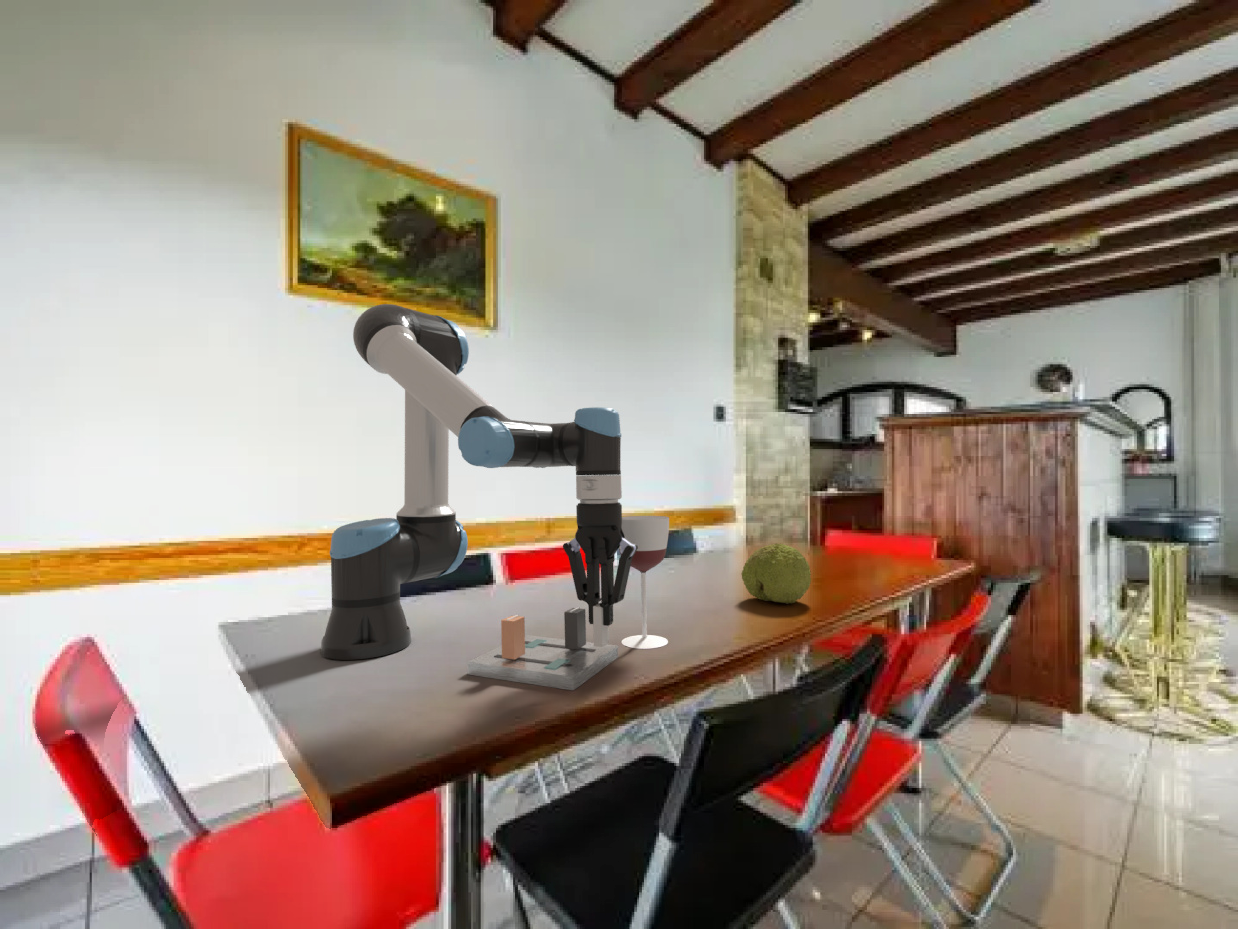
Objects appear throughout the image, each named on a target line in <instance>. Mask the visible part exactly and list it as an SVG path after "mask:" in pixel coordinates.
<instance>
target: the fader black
mask: <svg viewBox="0 0 1238 929" xmlns="http://www.w3.org/2000/svg"><path fill="white" fill-rule="evenodd" d="M563 616H564V619H563V620H564V639H565V648H569V649H579V648H581V647H583V646H584V645H586V642H587V631H586V630H587V627H586V625H587V622H586V608H580V607H571V608H570V609H567V610H565V611H564V615H563Z"/></svg>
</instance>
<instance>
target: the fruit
mask: <svg viewBox="0 0 1238 929" xmlns="http://www.w3.org/2000/svg"><path fill="white" fill-rule="evenodd" d="M811 575H812V573H811V569H810V565H809V561H807V559H806V557H805V556H804V555H803V554H802V552H800V551H799V550H798V549H797V548H796V547H792V546H789V545H787V544H784V543H774V544H768V545H766V546H763V547H759V548H758V549H757V550H756V549H755V550H754V551H753V553H752V554H751V555H750V556H749V557H748V558H747V559H746V562H745V563H744V565H743V568H742V570H741V574H740V576H741V579H742V581H743V585H744V586H745V589H746V590H747V592H748V593H749V594H750V595H751V596H752V597H754V598H756V599H758V600H763V601H765V602H774V603H781V604H787V605H788V604H793V603H796V602H797V601H798V600H800V599H801V598H802V597H804V595H806V593H807V591H808V590H809V588H810V586H811V582H812V581H811V580H812V579H811Z"/></svg>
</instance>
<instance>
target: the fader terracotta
mask: <svg viewBox="0 0 1238 929" xmlns="http://www.w3.org/2000/svg"><path fill="white" fill-rule="evenodd" d="M525 622H526V621H525V616H520V615H519V614H516V615H510V616H508V617H506V618H505V617H504V618H503V619H501V623H500V626H501V628H500V630H501V631H500V632H501V645H502V658H507V659H514V660H515V659H517V658H518V657H520V656H522V655H524V654H525V635H526V633H525V632H526V630H525V627H526V626H525Z"/></svg>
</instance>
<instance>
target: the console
mask: <svg viewBox="0 0 1238 929" xmlns="http://www.w3.org/2000/svg"><path fill="white" fill-rule="evenodd" d="M617 658H619V645H616V644H609V643H607V644H606V645H604V646H603V647H596V646H594V642H590V641H586V645H584V646H583V647H581V648H579V649H569V648H565V638H564V639H563V638H555V637H545V636H536V635H529V634H525V654H524V655H522V656H520V657H518V658H517V659H515V660H514V659H507V658H502V644H501V645H499V646H497V647H496V648H493V649H491V650H489V651H488V652H485V653H483V654H480V655H479V656H477V657H475V658H473V659H470V660H468V661H467V662H466V663H467V675H469V676H474V677H475V676H476V677H483V678H488V679H496V680H501V681H502V680H503V681H509V682H514V683H522V684H528V685H533V686H541V687H547V688H555V689H561V690H565V691H568V690H569V691H575V690H576V689H578V688H579V687H581V686H582V685H583V684H584V683H586V682H587V681H588V680H590V679H591V678H593V677H594V676H595V675H596V674H597V673H599V672H600V671H601V670H603V669H604V668H606V667H607V666H608V665H610V664H612V662H614V661H615V660H617Z"/></svg>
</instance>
